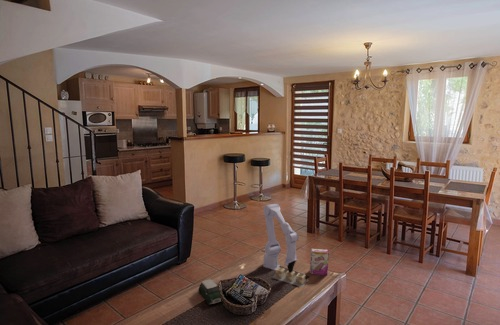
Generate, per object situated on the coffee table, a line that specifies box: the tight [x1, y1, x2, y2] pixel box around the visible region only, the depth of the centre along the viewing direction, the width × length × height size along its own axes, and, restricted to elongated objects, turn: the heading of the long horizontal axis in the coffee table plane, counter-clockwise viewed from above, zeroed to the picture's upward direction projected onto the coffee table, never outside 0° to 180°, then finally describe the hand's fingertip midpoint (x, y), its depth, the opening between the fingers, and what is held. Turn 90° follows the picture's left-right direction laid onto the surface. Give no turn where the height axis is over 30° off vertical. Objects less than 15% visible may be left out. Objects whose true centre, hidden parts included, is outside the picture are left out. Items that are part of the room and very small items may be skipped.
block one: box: [275, 266, 286, 278], centre depth 202 cm, size 4×4×5 cm
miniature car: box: [198, 278, 222, 306], centre depth 178 cm, size 9×18×8 cm, turn 31°
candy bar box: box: [309, 248, 330, 276], centre depth 205 cm, size 11×5×16 cm, turn 84°
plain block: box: [285, 270, 296, 281], centre depth 198 cm, size 4×4×4 cm
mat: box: [271, 272, 309, 288], centre depth 199 cm, size 21×10×1 cm, turn 59°
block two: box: [295, 272, 306, 285], centre depth 195 cm, size 4×4×5 cm
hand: (290, 271), depth 198 cm, fingers closed
